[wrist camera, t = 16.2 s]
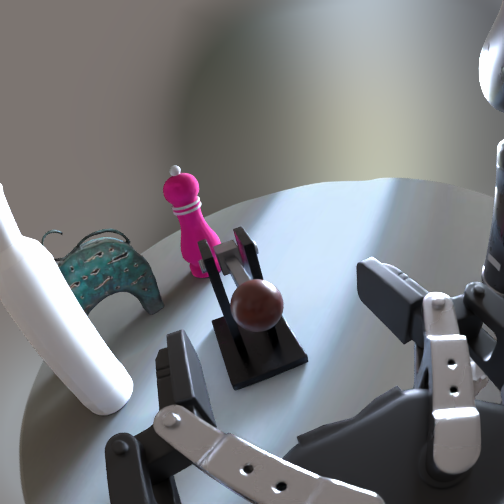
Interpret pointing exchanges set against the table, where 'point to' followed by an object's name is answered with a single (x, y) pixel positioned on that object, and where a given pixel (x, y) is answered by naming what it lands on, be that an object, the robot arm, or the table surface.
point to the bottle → (57, 321)
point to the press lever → (249, 292)
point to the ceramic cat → (108, 272)
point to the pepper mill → (189, 218)
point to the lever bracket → (241, 340)
